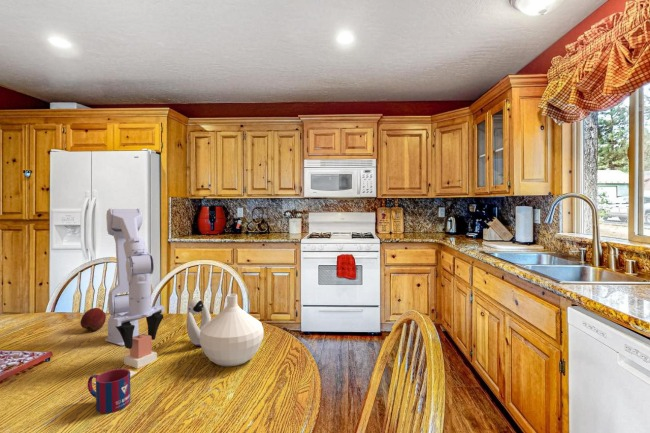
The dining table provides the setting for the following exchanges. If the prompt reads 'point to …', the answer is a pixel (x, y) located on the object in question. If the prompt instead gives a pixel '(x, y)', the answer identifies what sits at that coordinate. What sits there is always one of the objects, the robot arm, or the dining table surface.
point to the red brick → (141, 345)
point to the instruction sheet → (130, 374)
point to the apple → (93, 319)
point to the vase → (231, 335)
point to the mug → (111, 390)
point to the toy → (192, 328)
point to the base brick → (140, 360)
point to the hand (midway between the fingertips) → (140, 343)
